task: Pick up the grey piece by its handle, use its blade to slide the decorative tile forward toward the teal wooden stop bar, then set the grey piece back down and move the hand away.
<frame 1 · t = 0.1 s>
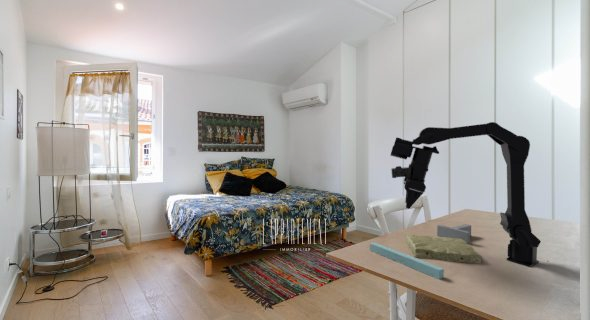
hand: (407, 205, 104), 15 cm above the table, tool pointing down, fingers open, 9 cm apart
grey piece: (452, 239, 115), on the table
stop bar: (402, 262, 93), on the table
decorative tile: (439, 253, 103), on the table
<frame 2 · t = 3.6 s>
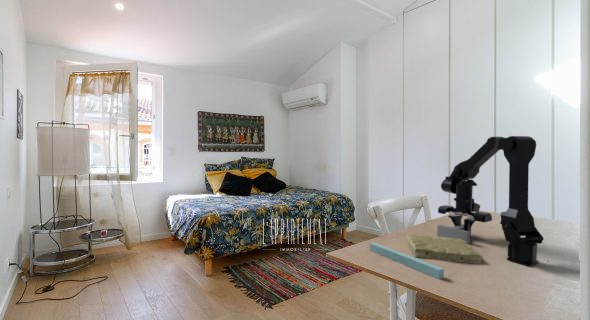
hand: (462, 234, 119), 1 cm above the table, tool pointing down, fingers closed on grey piece, 2 cm apart
grey piece: (452, 239, 115), on the table, touching gripper
everything else where it was.
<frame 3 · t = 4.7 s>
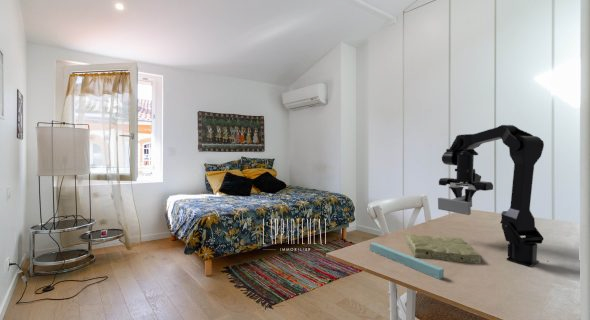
hand: (463, 205, 118), 13 cm above the table, tool pointing down, fingers closed on grey piece, 2 cm apart
grey piece: (453, 211, 115), point 11 cm above the table, tilted 5°, touching gripper
everything else where it was.
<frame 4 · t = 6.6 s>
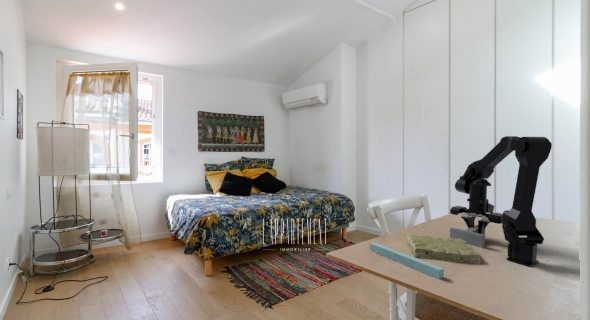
hand: (476, 236, 115), 2 cm above the table, tool pointing down, fingers closed on grey piece, 2 cm apart
grey piece: (466, 242, 111), on the table, tilted 5°, touching gripper
everything else where it was.
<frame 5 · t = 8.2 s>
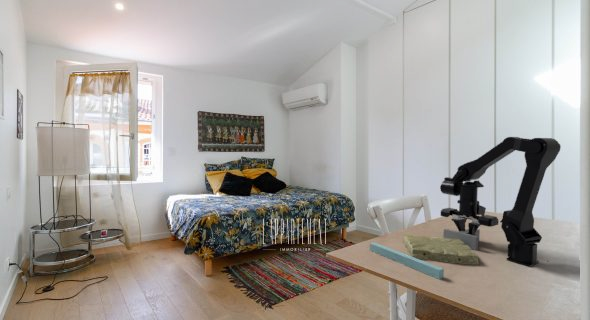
hand: (467, 239, 111), 1 cm above the table, tool pointing down, fingers closed on grey piece, 2 cm apart
grey piece: (459, 244, 109), on the table, touching gripper
decorative tile: (437, 254, 102), on the table
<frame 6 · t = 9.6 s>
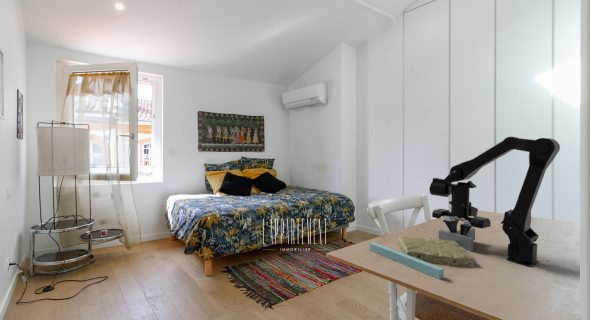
hand: (458, 240, 109), 2 cm above the table, tool pointing down, fingers closed on grey piece, 2 cm apart
grey piece: (455, 246, 108), on the table, touching gripper
decorative tile: (432, 255, 100), on the table
when the fingers open (2 cm above the table, at t = 13.7 s): grey piece stays where it is, on the table.
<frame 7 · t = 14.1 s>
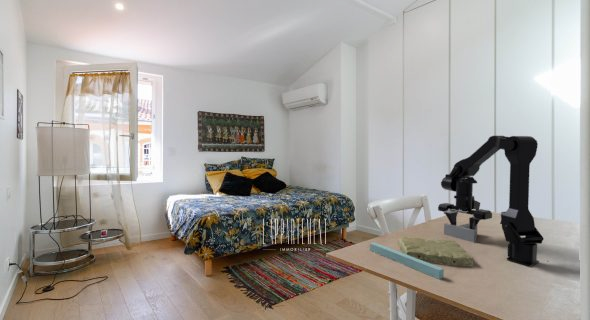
hand: (462, 231, 119), 2 cm above the table, tool pointing down, fingers open, 6 cm apart
grey piece: (459, 238, 117), on the table
everything else where it was.
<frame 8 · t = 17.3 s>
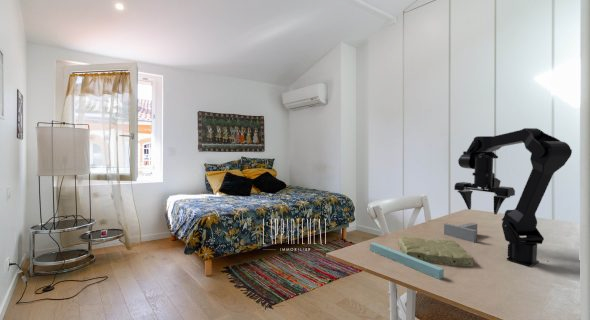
hand: (482, 211, 110), 12 cm above the table, tool pointing down, fingers open, 9 cm apart
nothing on the table moved.
at the end: decorative tile moved 4.8 cm from its start; decorative tile inside the target area (1.8 cm from its centre), on the table; the gripper is holding nothing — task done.
